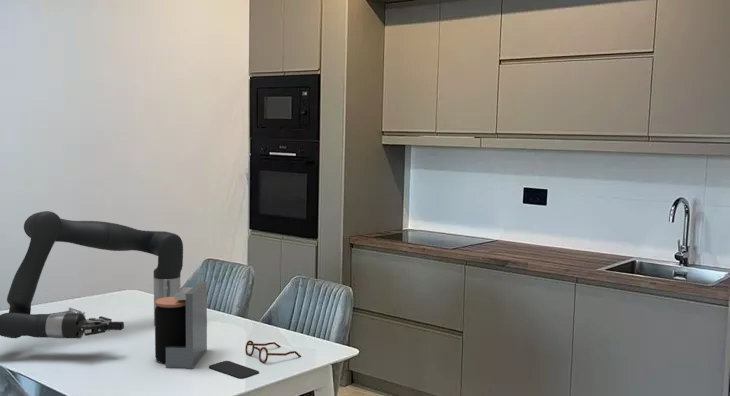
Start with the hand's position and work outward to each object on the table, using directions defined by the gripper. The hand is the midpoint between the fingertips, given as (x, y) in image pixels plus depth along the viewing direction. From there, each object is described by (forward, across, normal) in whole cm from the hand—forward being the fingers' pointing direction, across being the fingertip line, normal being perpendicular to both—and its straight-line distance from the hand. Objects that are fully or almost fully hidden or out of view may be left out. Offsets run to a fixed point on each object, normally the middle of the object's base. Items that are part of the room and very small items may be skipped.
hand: (123, 325), depth 207 cm
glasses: (+45, +4, +11) cm, 46 cm away
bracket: (+19, -1, +10) cm, 22 cm away
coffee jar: (+15, -1, +10) cm, 18 cm away
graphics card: (-38, +41, +10) cm, 57 cm away
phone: (+35, -10, +11) cm, 38 cm away
